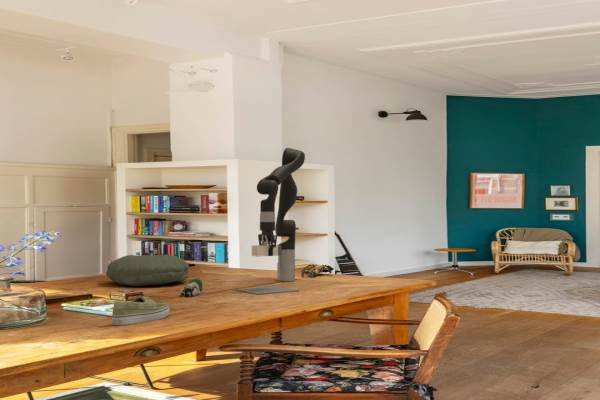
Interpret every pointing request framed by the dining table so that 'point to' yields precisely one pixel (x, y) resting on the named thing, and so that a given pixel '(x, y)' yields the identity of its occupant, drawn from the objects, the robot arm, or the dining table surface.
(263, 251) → the cream block
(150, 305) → the boat shoe
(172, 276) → the pillow
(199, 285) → the toy
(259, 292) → the slate mat
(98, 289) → the dining table surface
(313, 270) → the figurine
